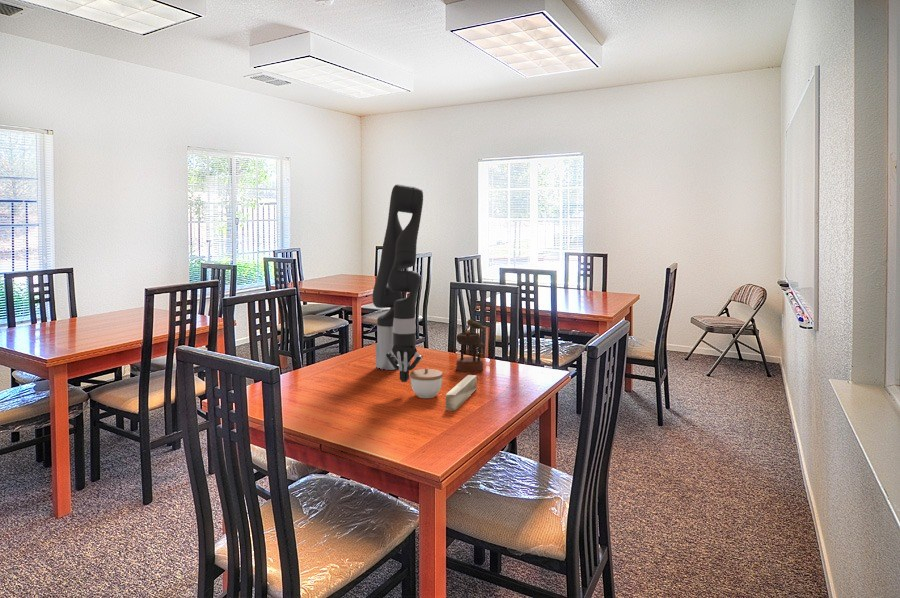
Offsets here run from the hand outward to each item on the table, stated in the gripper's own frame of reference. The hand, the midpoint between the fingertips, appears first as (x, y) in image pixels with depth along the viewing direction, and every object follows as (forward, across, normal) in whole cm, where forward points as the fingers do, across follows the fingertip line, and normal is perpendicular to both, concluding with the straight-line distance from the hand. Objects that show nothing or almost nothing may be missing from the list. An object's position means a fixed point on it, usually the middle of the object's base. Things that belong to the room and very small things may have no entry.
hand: (404, 381), depth 194 cm
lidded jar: (+4, +8, 0) cm, 9 cm away
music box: (+4, +10, +38) cm, 40 cm away
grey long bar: (+4, +20, 0) cm, 21 cm away
